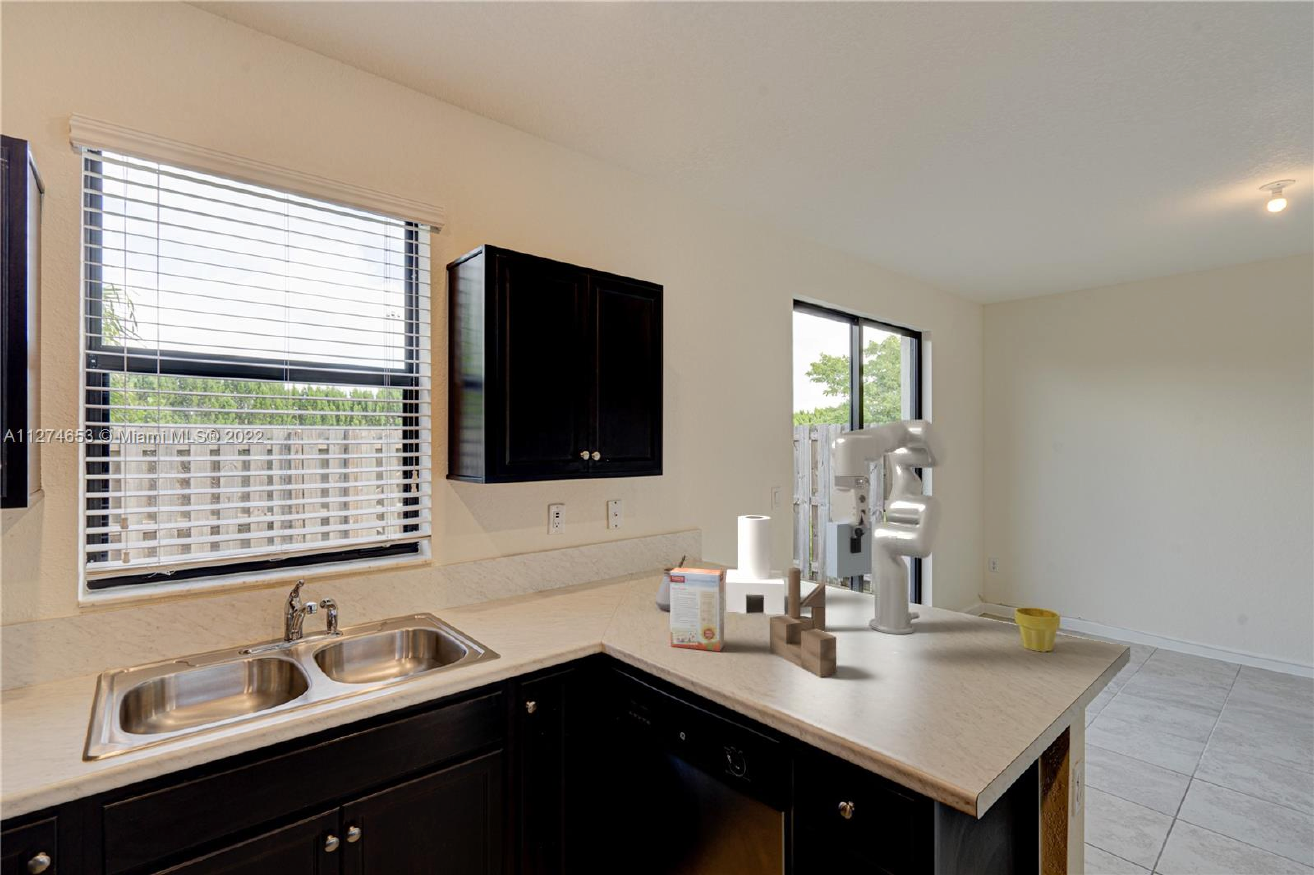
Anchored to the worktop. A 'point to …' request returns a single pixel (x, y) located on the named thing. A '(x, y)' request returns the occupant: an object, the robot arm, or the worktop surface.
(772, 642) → the walnut crosspiece
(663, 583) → the coffee pot
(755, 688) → the worktop surface
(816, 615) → the wooden block structure
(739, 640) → the worktop surface
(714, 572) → the cracker box
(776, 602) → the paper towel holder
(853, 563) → the pale blue tall box
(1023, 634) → the plant pot
